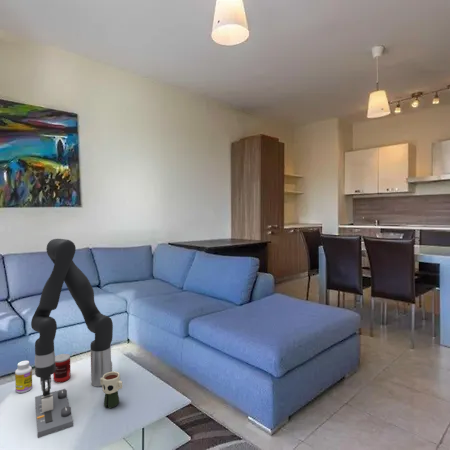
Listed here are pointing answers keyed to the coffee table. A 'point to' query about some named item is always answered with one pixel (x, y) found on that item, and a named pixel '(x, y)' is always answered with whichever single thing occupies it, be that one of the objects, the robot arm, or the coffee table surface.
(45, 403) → the fader cap
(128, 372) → the coffee table surface
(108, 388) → the character mug
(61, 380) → the canned food
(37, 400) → the console board
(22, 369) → the supplement bottle
